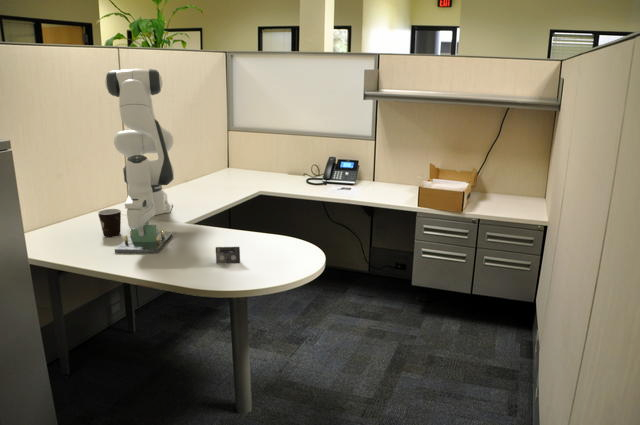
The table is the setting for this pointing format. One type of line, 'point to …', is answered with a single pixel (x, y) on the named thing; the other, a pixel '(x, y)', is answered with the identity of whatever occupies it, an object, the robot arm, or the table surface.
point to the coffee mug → (110, 222)
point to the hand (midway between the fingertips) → (144, 233)
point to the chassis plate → (144, 244)
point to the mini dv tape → (227, 255)
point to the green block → (148, 236)
